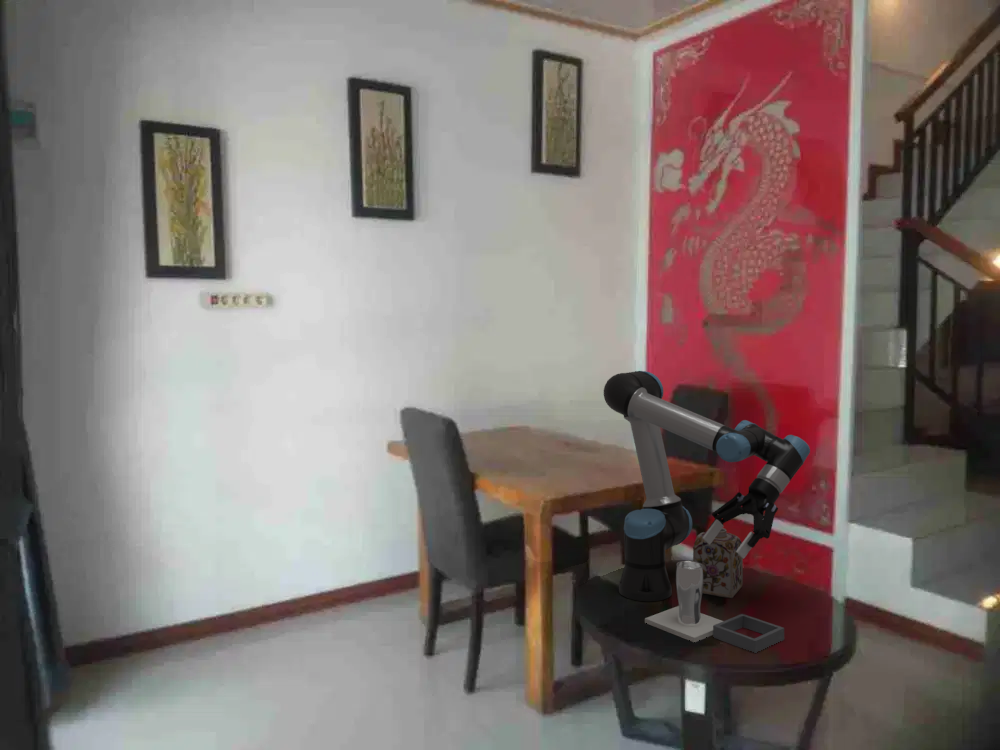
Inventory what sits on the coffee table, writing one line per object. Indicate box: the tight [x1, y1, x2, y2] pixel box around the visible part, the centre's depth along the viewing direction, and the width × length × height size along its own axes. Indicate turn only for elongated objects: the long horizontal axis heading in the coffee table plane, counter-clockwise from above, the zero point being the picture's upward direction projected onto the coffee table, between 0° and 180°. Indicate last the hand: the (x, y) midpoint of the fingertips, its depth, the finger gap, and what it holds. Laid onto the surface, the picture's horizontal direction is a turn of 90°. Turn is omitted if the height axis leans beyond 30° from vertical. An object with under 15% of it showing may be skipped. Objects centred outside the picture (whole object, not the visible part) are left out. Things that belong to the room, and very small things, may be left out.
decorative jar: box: [692, 527, 744, 599], centre depth 218 cm, size 12×12×18 cm
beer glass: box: [675, 560, 703, 626], centre depth 192 cm, size 7×7×15 cm
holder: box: [712, 613, 785, 654], centre depth 184 cm, size 12×12×3 cm
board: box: [644, 605, 724, 643], centre depth 193 cm, size 16×14×1 cm
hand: (722, 548), depth 195 cm, fingers open, 13 cm apart
